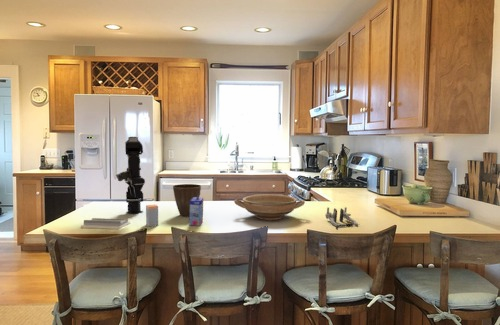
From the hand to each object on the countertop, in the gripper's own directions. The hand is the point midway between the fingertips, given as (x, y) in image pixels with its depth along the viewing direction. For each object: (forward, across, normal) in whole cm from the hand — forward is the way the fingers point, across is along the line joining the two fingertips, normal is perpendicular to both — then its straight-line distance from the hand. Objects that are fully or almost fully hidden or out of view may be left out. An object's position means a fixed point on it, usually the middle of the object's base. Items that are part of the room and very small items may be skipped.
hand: (134, 196), depth 185 cm
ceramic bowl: (+12, +29, +63) cm, 70 cm away
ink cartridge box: (+12, +23, +24) cm, 36 cm away
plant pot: (+12, +3, +27) cm, 30 cm away
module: (+12, +16, +5) cm, 20 cm away
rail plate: (+12, +5, -15) cm, 20 cm away
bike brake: (+13, +60, +85) cm, 105 cm away
